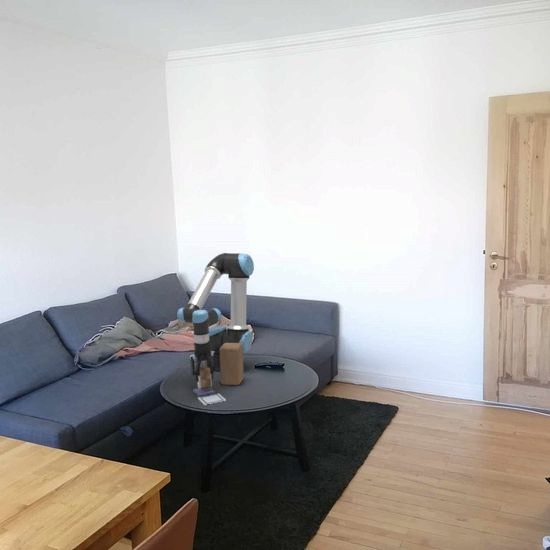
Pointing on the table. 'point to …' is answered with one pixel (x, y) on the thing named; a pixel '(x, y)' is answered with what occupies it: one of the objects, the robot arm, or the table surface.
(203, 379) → the stamp
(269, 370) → the table surface
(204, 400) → the print card
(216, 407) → the table surface
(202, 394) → the ink pad
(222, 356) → the wooden block
